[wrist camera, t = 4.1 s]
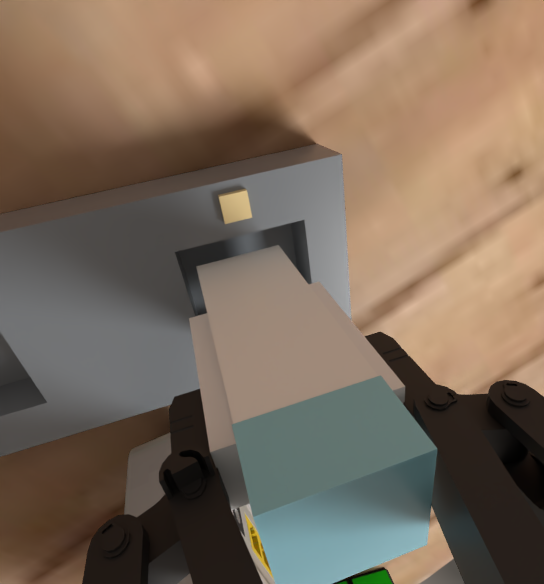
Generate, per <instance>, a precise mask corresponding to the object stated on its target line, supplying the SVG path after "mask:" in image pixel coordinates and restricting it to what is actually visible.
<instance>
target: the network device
mask: <svg viewBox="0 0 544 584" xmlns="http://www.w3.org/2000/svg"><path fill="white" fill-rule="evenodd" d="M170 435H171V434H170V433H168V434H165V435H163V436H161V437H158V438H156V439H154V440H151V441H149V442H146V443H144V444H142V445H139V446H137V447H135V448H133V449H132V450H131V451H130V453H129V458H128V469H127V483H126V497H125V511H124V515H125V514H129V515H132V516H135V517H138V516H139V515H141V514H142V513H144V512H145V511H147V510H148V509H149V508H151V507H152V506H154V505H155V504H156V503H157V502H158V501H160V499H161V498H162V497H163V496H164V495H165V492H164V490H163V488H162V486H161V485H160V483H159V470H160V468H161V465H162V463H163V462H164V461H165V459H166V458H167V457H168V456H169V455H170V454H171V439H170ZM231 511H232V513H233V515H234V518H235V520H236V522H237V525H238V527H239V529H240V532H241V534H242V536H243V538H244V541H245V543H246V545H247V548H248V550H249V552H250V555H251V557H252V559H253V561H254V564H255V566H256V568H257V571H258V573H259V575H260V578H261V580H262V582H263V584H275V581H274V578H273V575H272V572H271V569H270V566H269V563H268V560H267V557H266V554H265V551H264V548H263V545H262V542H261V539H260V536H259V533H258V531H257V528H256V525H255V522H254V519H253V515H252V511H251V506H250V504H247V505H244V506H242V507H239V508H236V509H233V510H232V508H231ZM178 584H193V582H192V579H191V575H190V574H189V575H187V576H186V577H185V578H184V579H182V580H181V581H180V582H179V583H178Z"/></svg>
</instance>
